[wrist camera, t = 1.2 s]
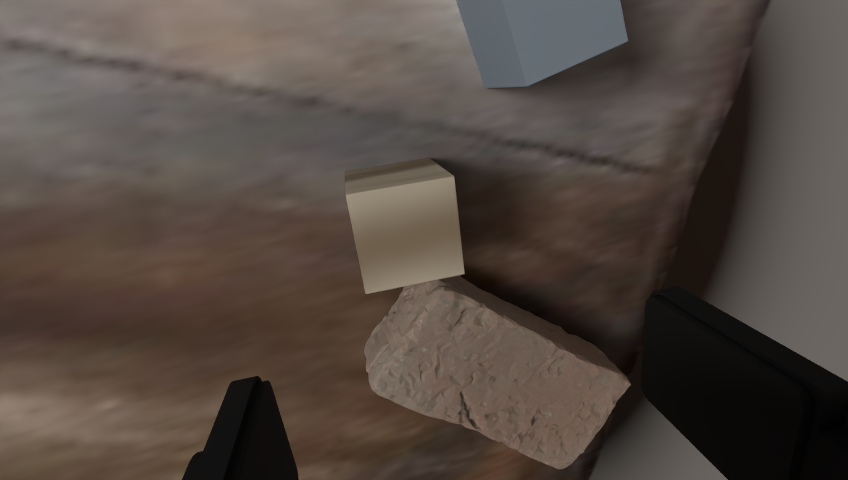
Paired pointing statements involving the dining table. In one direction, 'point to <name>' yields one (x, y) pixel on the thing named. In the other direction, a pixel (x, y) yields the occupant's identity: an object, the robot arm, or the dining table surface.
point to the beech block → (404, 223)
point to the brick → (493, 370)
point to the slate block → (538, 36)
